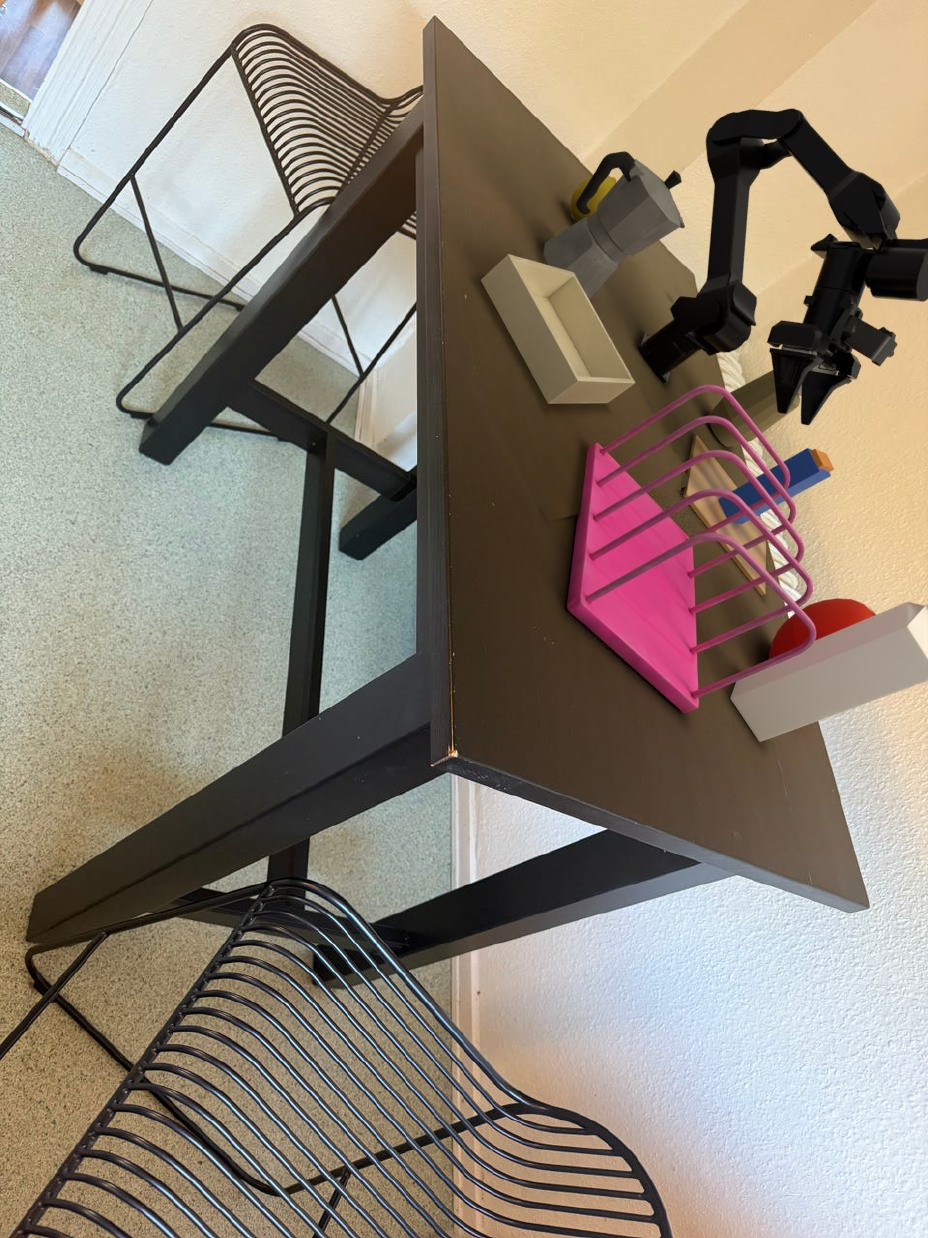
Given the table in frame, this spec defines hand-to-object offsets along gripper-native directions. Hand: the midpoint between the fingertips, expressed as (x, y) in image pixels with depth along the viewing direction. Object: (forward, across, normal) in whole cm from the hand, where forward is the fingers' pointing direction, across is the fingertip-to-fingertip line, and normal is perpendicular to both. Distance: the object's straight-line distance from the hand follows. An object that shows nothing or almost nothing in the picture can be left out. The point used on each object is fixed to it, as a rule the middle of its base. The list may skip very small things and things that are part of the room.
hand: (793, 419), depth 106 cm
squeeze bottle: (+3, +14, +16) cm, 22 cm away
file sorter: (+21, -35, -2) cm, 41 cm away
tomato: (+30, -9, -11) cm, 33 cm away
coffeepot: (-10, -18, +29) cm, 36 cm away
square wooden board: (+14, +1, +5) cm, 15 cm away
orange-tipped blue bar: (+14, +1, +5) cm, 14 cm away
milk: (+32, -20, -13) cm, 41 cm away
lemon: (-21, -5, +40) cm, 45 cm away
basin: (+1, -32, +18) cm, 37 cm away
